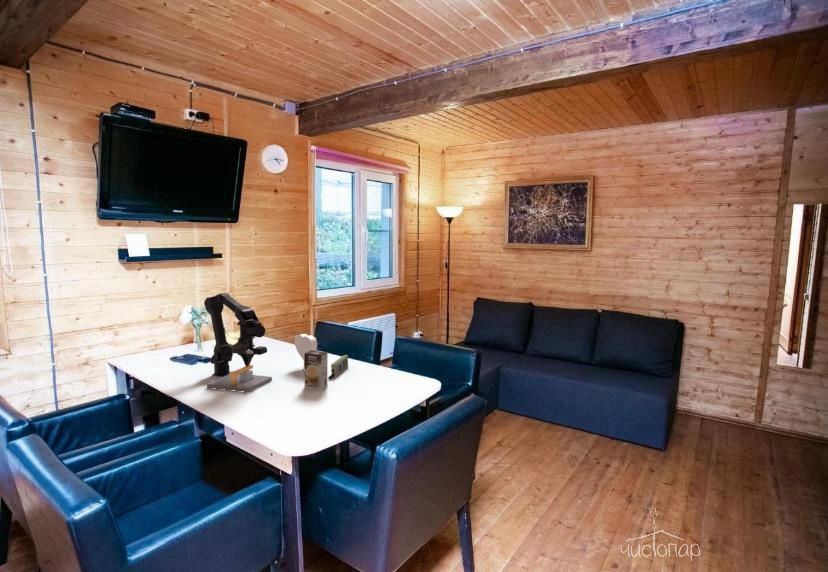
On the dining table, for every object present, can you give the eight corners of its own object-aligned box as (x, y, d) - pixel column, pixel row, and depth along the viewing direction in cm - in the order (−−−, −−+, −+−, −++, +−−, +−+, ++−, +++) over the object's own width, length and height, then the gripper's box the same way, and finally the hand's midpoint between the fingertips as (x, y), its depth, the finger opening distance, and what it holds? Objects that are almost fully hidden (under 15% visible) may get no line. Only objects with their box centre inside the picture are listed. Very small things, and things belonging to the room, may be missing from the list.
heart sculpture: (318, 370, 232) (318, 336, 230) (310, 372, 228) (310, 338, 226) (301, 364, 242) (301, 332, 241) (293, 366, 239) (293, 333, 237)
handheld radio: (349, 367, 240) (332, 380, 216) (343, 366, 241) (326, 380, 216) (348, 354, 240) (332, 367, 215) (342, 354, 240) (325, 367, 216)
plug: (240, 384, 208) (239, 372, 207) (245, 382, 212) (245, 369, 211) (247, 385, 207) (247, 372, 206) (252, 382, 210) (252, 370, 210)
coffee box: (303, 387, 205) (303, 353, 203) (311, 383, 211) (310, 349, 209) (321, 389, 202) (320, 354, 200) (328, 385, 208) (328, 351, 206)
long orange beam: (229, 385, 199) (229, 372, 199) (249, 376, 213) (249, 364, 213) (234, 385, 199) (234, 373, 198) (254, 376, 212) (253, 364, 212)
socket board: (206, 388, 202) (206, 383, 202) (232, 376, 219) (232, 372, 219) (248, 392, 196) (248, 388, 196) (271, 380, 213) (271, 376, 213)
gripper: (218, 337, 205) (219, 370, 206) (253, 339, 200) (254, 373, 201) (233, 332, 216) (234, 364, 217) (267, 334, 211) (268, 367, 212)
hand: (247, 367), depth 212 cm, fingers closed
